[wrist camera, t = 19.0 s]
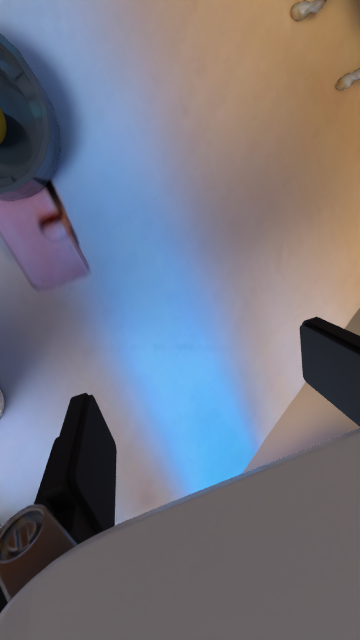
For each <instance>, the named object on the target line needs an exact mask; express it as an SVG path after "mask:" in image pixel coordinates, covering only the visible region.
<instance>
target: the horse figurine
mask: <svg viewBox="0 0 360 640" xmlns="http://www.w3.org/2000/svg"><path fill="white" fill-rule="evenodd" d="M325 1H326V0H314V1H312V2H309V1H305V0H304V1H302V2H298V3H296V4H294V5H293V6H292V8H291V12H290V13H291V16H292V18H293V19H295V20H296V21H300V20H301V19H303V18H305V17H306V16H307V15H308V13H309V12H313V13H317V12H318V11H319V10H320V9H321V8H322V6H323V5H324V3H325ZM354 80H360V68H358V69H356V70H355V71H353V72H352V73H347V74H345V75H344V76H343V77H342V78H340V79H339V80H338V81H337V83H336V88H337V89H339V90H344V89H347V88H348V87H349V86H350V85H351V84H352V83H353V81H354Z"/></svg>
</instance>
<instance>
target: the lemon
mask: <svg viewBox="0 0 360 640" xmlns="http://www.w3.org/2000/svg"><path fill="white" fill-rule="evenodd" d="M5 135H6V120H5V117H4V114H3V111H2V109H1V108H0V144H1V143H2V142H3V140H4V138H5Z"/></svg>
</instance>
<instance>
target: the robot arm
mask: <svg viewBox="0 0 360 640" xmlns="http://www.w3.org/2000/svg"><path fill="white" fill-rule="evenodd" d="M300 339H301V354H302V369H303V377H304V379H305V381H306V382H307V383H308V384H309V385H310V386H312V387H313V388H314V389H315V390H316V391H318V392H319V393H320V394H321V395H322V396H324V397H325V398H326V399H327V400H328V401H330V402H331V403H332V404H333V405H335V406H336V407H337V408H338V409H339V410H341V411H342V412H343V413H344V414H345V415H346V416H348V417H349V418H350V419H351V420H352V421H354V422H355V423H356V424H357V425H358V426H360V336H359V335H356V334H354V333H352V332H350V331H347V330H345V329H343V328H341V327H339V326H336V325H334V324H332V323H330V322H327V321H325V320H323V319H321V318H318V317H315V318H312V319H309V320H305V321H304V322H303V323H302V325H301V326H300ZM3 410H4V397H3V394H2V391H1V390H0V417H1V415H2V413H3ZM116 453H117V451H116V444H115V441H114V439H113V437H112V435H111V433H110V431H109V428H108V426H107V424H106V422H105V420H104V418H103V415H102V413H101V411H100V409H99V407H98V405H97V402H96V400H95V398H94V396H93V395H88V394H87V393H84V394H80V395H77V396H74V397H72V398H71V400H70V403H69V406H68V410H67V413H66V416H65V419H64V423H63V426H62V429H61V432H60V436H59V437H57V438H56V439H55V441H54V444H53V447H52V450H51V453H50V456H49V459H48V462H47V465H46V469H45V472H44V475H43V478H42V481H41V484H40V487H39V490H38V493H37V496H36V500H35V503H34V505H30V506H27V507H26V508H24V509H22V510H20V511H19V512H17V513H16V514H15V515H14V516H12V517H11V518H10V519H9V520H8V521H7V522H6V524H5V525H4V526H3V527H2V528H1V530H0V640H360V428H359V429H356V430H354V431H351V432H348V433H346V434H343V435H341V436H338V437H335V438H333V439H330V440H327V441H325V442H322V443H320V444H317V445H315V446H312V447H310V448H307V449H304V450H302V451H299V452H297V453H294V454H291V455H289V456H286V457H284V458H281V459H279V460H276V461H274V462H271V463H269V464H266V465H263V466H261V467H258V468H256V469H253V470H251V471H248V472H246V473H243V474H240V475H238V476H235V477H233V478H230V479H228V480H225V481H223V482H220V483H218V484H215V485H213V486H210V487H208V488H205V489H203V490H200V491H198V492H195V493H193V494H190V495H188V496H185V497H183V498H180V499H178V500H175V501H173V502H170V503H168V504H165V505H163V506H160V507H158V508H156V509H153V510H151V511H148V512H146V513H144V514H141V515H139V516H136V517H134V518H132V519H129V520H127V521H125V522H122V523H120V524H118V525H116V526H114V525H115V489H116Z"/></svg>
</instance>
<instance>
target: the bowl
mask: <svg viewBox="0 0 360 640" xmlns="http://www.w3.org/2000/svg"><path fill="white" fill-rule="evenodd" d="M0 108H1V109H2V111H3V114H4V117H5V120H6V135H5V138H4V140H3V142H2V143H1V144H0V201H15V200H19V199H23V198H27V197H30V196H32V195H33V194H35V193H36V192H38V191H39V190H41V189H42V188H44V187H45V186H46V185H47V183H48V182H49V180H50V179H51V177H52V176H53V174H54V173H55V171H56V168H57V164H58V160H59V156H60V152H61V145H60V130H59V125H58V122H57V119H56V116H55V114H54V111H53V108H52V105H51V103H50V101H49V99H48V97H47V96H46V94H45V92H44V90H43V89H42V87H41V85H40V83H39V82H38V80H37V78H36V77H35V75H34V74H33V72H32V70H31V69H30V67H29V66H28V64H27V63H26V61H25V60H24V58H23V57H22V55H21V54H20V52H19V51H18V50H17V49H16V48H15V47H14V46H13V45H12V44H11V43H10V42H9V41H8V40H7V39H6V38H5V37H4V36H3V35H2V34H1V33H0Z"/></svg>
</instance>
